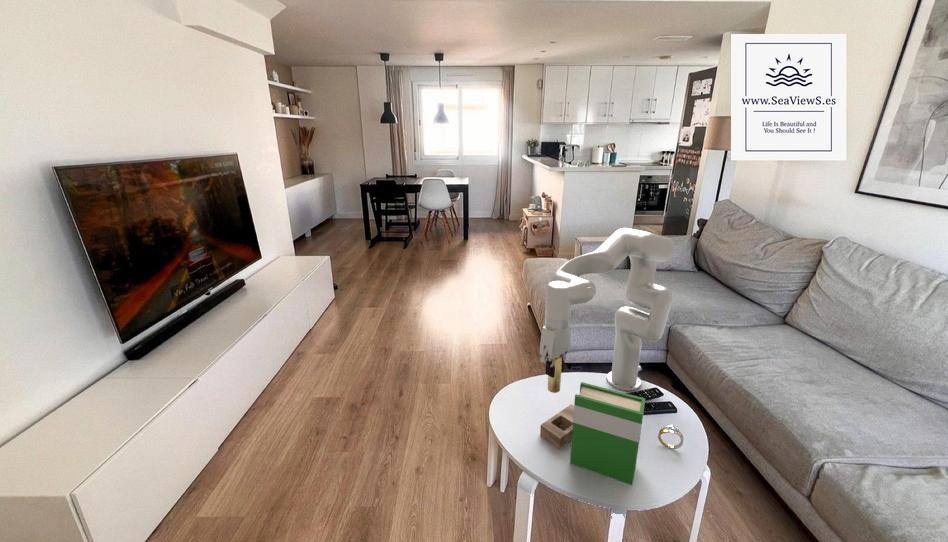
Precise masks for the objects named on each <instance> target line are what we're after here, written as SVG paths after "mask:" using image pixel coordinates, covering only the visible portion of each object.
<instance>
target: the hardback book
mask: <svg viewBox="0 0 948 542" xmlns="http://www.w3.org/2000/svg"><path fill="white" fill-rule="evenodd" d="M645 404H646V398H645V397H641V396H637V395H634V394H629V393H625V392H622V391H618V390H614V389H611V388H606V387H602V386H598V385H594V384H591V383H586V382H583V381H581V382H580V385H579V393H578V394H575V395H574V403H573V405H574V416H573V429H572V440H571V441H570V443H571V444H570V458H569V464H571V465H573V466H577V467H579V468H582V469H585V470H588V471H590V472H594V473H597V474H599V475H602V476H605V477H606V478H607V477H608V478H611V479H613V480H616V481H618V482H619V481H620V482H622V483H625V484H626V485H627V484H628V485H630V486H633V482H634V479H635V478H634V477H635V471H636V466H637V460H638V459H637V458H638V452H639V447H640V445H639V444H640V439H641V438H640V437H641V431H642V426H643V425H642V424H643V417H644V411H645Z"/></svg>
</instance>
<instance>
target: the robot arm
mask: <svg viewBox="0 0 948 542" xmlns="http://www.w3.org/2000/svg"><path fill="white" fill-rule="evenodd" d="M674 253H675V243H674V241H673V240H672V239H671V238H669V237H667V236H663V235H659V234H656V233H653V232H649V231H644V230H639V229H635V228H629V227H621V228H618V229H616V230H614V232H613V233H612V234H611V235H609V237H607V238H606V240H605V241H603V243H602V244H601V245H599V246H598V247H597V248H596V249H595V250H594V251H592V252H588V253H585V254H581V255H579V256H576V257H574V258H571V259H569V260H568V261H566V262H565V263H564V264H563V265H561V266H560V267H559V268H558V269H557V271H555V273H554V274H553V275H552V277H551V280H550V282H549V283H547V284H546V290H545V307H544V308H545V312H544V326H543V328H542V331H541V337H540V344H539V354H540V358H539V359H540V360H539V362H540V363H543V364H544V365H545V375H546V376H547V377H548V376H550V377H552V378H553V377H555V366H554V362H555V358H556V357H558V356H560V355H561V356H562V366H561V373H562V372H564V371H565V360H566V358H567V357H566V356H567V353H568V351H569V350H570V348H571V312H572V306H573V305H583V304H586V303H588V302H590V301H591V300H592V299H593V298H594V297H595V295H596V293H597V287H596V285H595V284H594V283H593V282H592V281H591V280H589V279H586V278H584V277H581V276H584V275H589V274H591V275H592V274H593V275H594V274H607V273H610V272H612V271H615V269H617V267H618V266H619V265H620V264H621V263H622V262H623V261H624V260H625V259H626V258H627V257H628V256H629V257H628V258H629V259H630V270H629V275H628V280H627V283H626V287H625V293H624V297H625V301H627V302H628V303H630V304H632V305H634V306H637V307H639V308H636V307H633V306H626V305H625V306H621V307H620V308H618V309H617V310H616V311H615V314H614V327H615V328H614V329H615V330H614V331H615V337H614V347H613V357H612V365H611V371H610V372H608V373H607V375H606V381H607V383H608V384H609V385H610V386H611V387H613V388H615V389H618V390H621V391H624V392H625V391H627V392H629V391H631V392H632V391H636V390H638V389H639V388H640V387H641V383H642V382H641V378H640V377H639V376H638V375H639V372H640V371H642V369H643V368H642V367H641V365H640V358H641V350H642V340H644V341H647V342H651V343H656V342H659V341H660V339H661V338H662V337H663V335H664V333H665V330H666V329H665V328H666V326H667V321H668V318H669V314H670V310H671V307H672V303H673V302H672V301H673V296H672V292H671V290H670V289H669V288H668V287H666V286H663V285H660V284H656V283H655V278H656V272H657V265H656V262H657V263H665V262H667V261H669V260H670V259H671V258H672V257H673V255H674ZM640 308H643V309H646V310H648V311H649V312H647V311H644V310H642V309H640ZM641 339H642V340H641ZM549 358H550V359H551V362H550V361H549Z"/></svg>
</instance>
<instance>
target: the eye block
mask: <svg viewBox="0 0 948 542" xmlns="http://www.w3.org/2000/svg"><path fill="white" fill-rule="evenodd" d="M573 416H574V404H570V405H568V406H565V408H564V409H562V410H560V411H559V412H558V413H556V414H554V416H552V417H550V418H548V419H547V420H546V421H544V422H543V423H541V424H540V428H539V429H540V431H539V432H540V434H539V435H540V436H541V437H542V438H543V439H545V440H547V441H548V442H549V443H551V444H552V445H554V446H555V447H556V448H558V449H560V450H561V448H563V447H564V446H565V445H566V444H567V443H569V442H571V441H572V429H573ZM559 426H561V427H562V428H563V429H565V430H562V429H561V428H560V427H559Z"/></svg>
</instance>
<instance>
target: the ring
mask: <svg viewBox="0 0 948 542" xmlns="http://www.w3.org/2000/svg"><path fill="white" fill-rule="evenodd" d="M667 433H672V434H675V435H677V436H679V438H680V442H679V443H678V444H676V445H671V444H670V443H666V442H665V441H664V440H663V439H662V437H661V436H662V435H664V434H667ZM657 434H658V435H657V439H658V441H659V442H660V443H661V445H663V446H664V447H666V448H667V449H668V450H670V449H671V450H677V449H680V448H681V447H682V446H683V445H684V440H685V439H684V438H685V437H684V436H683V434H682V432H681V431H680V429H678V427H676V426H675V425H673V424H671V425H665V426H663V427H661V428H660V429H659V432H658V433H657Z"/></svg>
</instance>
